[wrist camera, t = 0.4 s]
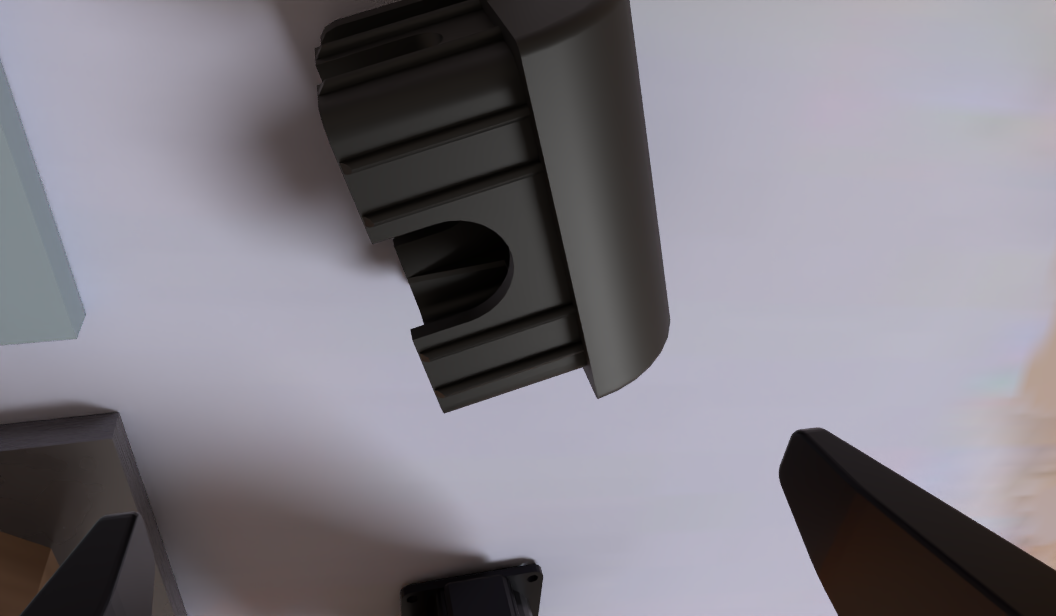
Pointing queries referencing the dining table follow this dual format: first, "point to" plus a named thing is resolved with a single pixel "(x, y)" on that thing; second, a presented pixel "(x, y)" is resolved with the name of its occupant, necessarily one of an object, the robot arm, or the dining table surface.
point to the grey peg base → (30, 245)
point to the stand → (76, 489)
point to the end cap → (505, 184)
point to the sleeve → (22, 572)
